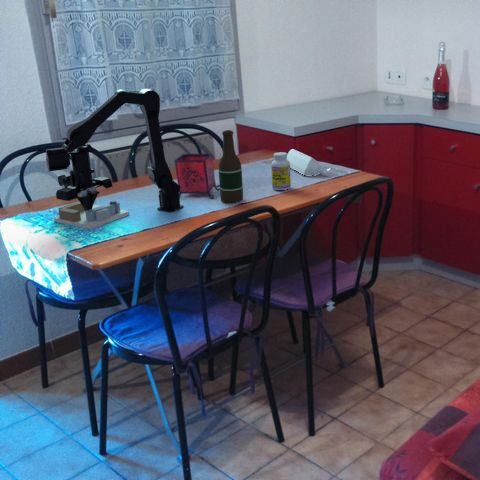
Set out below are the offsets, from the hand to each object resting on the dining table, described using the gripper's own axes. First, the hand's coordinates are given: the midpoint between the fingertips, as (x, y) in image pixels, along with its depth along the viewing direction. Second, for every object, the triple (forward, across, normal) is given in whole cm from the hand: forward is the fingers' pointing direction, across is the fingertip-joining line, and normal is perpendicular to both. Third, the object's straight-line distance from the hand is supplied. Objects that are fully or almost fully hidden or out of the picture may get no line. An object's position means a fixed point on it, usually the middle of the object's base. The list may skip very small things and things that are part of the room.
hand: (88, 214), depth 220 cm
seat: (+3, -3, -3) cm, 5 cm away
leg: (+1, -4, +3) cm, 5 cm away
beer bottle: (+3, -40, +27) cm, 49 cm away
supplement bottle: (+3, -61, +34) cm, 69 cm away
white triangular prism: (+4, -88, +25) cm, 91 cm away
